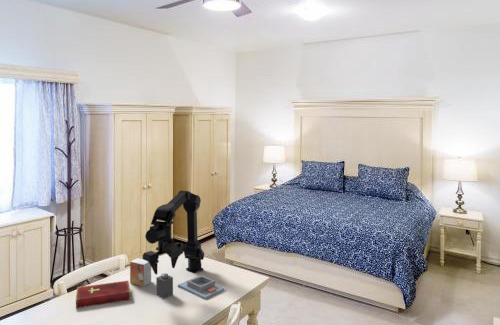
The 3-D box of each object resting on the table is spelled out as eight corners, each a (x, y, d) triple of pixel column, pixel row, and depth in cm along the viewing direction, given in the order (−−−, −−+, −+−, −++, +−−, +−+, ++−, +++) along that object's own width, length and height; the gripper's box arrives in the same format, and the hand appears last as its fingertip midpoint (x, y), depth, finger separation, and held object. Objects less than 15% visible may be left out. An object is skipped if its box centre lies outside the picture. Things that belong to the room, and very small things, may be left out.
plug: (156, 295, 163) (156, 274, 162) (165, 291, 167) (165, 271, 165) (163, 298, 160) (163, 278, 158) (172, 294, 163) (172, 274, 162)
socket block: (178, 286, 171) (178, 279, 171) (197, 278, 180) (197, 271, 180) (205, 299, 160) (205, 291, 159) (224, 290, 169) (224, 282, 168)
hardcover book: (130, 300, 158) (130, 291, 157) (75, 309, 150) (75, 299, 150) (128, 288, 169) (128, 279, 168) (77, 295, 161) (77, 286, 161)
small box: (129, 283, 173) (129, 261, 172) (137, 278, 179) (137, 257, 177) (144, 286, 170) (143, 264, 169) (151, 281, 176) (151, 260, 174)
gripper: (158, 246, 148) (158, 283, 150) (193, 235, 162) (193, 269, 164) (141, 239, 155) (142, 275, 157) (177, 230, 169) (177, 263, 171)
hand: (164, 271), depth 162 cm, fingers open, 9 cm apart
